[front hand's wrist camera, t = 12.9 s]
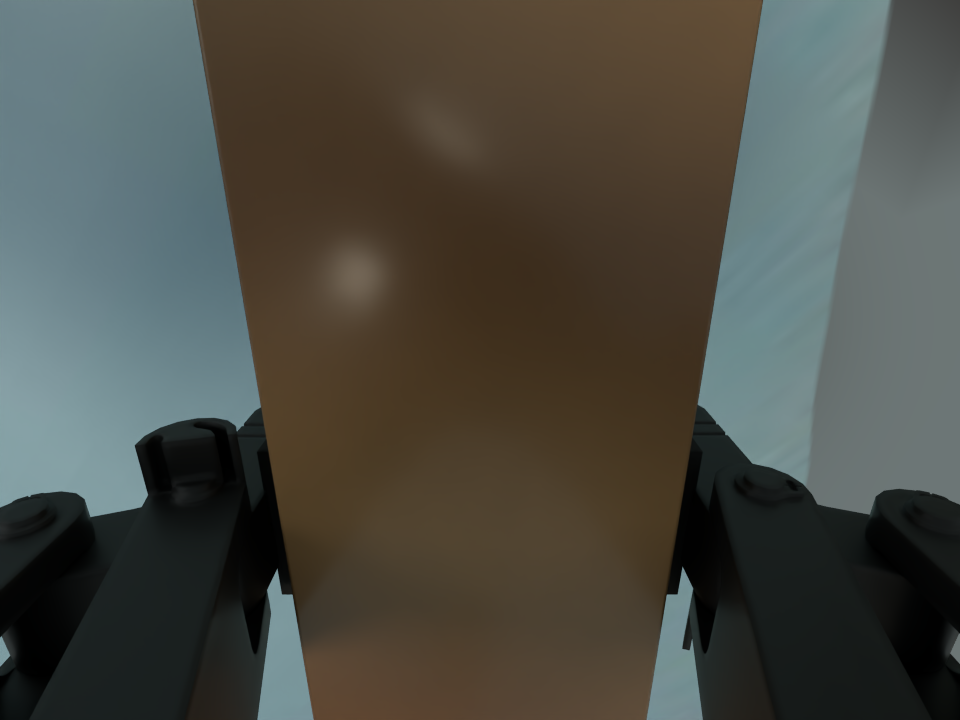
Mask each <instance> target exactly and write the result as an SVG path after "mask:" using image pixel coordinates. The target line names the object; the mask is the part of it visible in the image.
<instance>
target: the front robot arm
mask: <svg viewBox="0 0 960 720" xmlns="http://www.w3.org/2000/svg"><path fill="white" fill-rule="evenodd" d="M135 448H136V452H137V456H138V459H139V463H140V467H141V470H142V474H143V478H144V481H145V485H146V489H147V492H148V496H147V498H146V500H145V502H144V504H143V506H142V507H140V508H136V509H132V510H126V511H121V512H116V513H110V514H105V515H100V516H94V517H90V515H89V512H88V508H87V505H86V502H85V499H83V498H82V497H81V496H79V495H78V494H76V493H69V492H52V493H39V494H35V495H31V497H28V496H26V497H23V498H20V499H17V500H15V501H13V502H12V503H10V504H8V505H5V506H3V507H1V508H0V637H1V636H2V638H3V640H4V642H5V645H6V647H7V649H8V651H9V654H10V657H9V658H8V659H7V660H6V661H5V662H4V663H3V664H2V666H1V667H0V720H257V717H258V710H259V702H260V694H261V687H262V679H263V671H264V664H265V656H266V648H267V640H268V633H269V625H270V617H271V610H270V603H269V598H268V593H267V589H268V587H269V585H270V583H271V580H272V578H273V576H274V574H275V572H276V570H277V568H278V574H279V580H280V585H281V591H282V594H293V593H292V588H291V582H290V576H289V570H288V564H287V558H286V552H285V546H284V540H283V534H282V528H281V522H280V516H279V510H278V504H277V498H276V492H275V486H274V480H273V475H272V469H271V463H270V457H269V451H268V445H267V439H266V433H265V427H264V421H263V415H262V409H261V408H259V409H257V410H256V411H255V412H254V413H253V414H252V415H251V416H250V417H249V419H248V420H247V421H246V422H245V423H244V426H242V427H241V428H240V429H239V430H238V431H236V426H235V425H234V424H232V423H231V422H229V421H228V420H223V419H217V418H197V419H191V420H186V421H180V422H176V423H173V424H170V425H167V426H164V427H161V428H159V429H157V430H155V431H153V432H151V433H150V434H148V435H146V436H144V437H143V438H142V439H141V440H140V441H139V442H138V443H137V444H136V445H135ZM682 566H683V568H684V570H685V572H686V574H687V576H688V578H689V581H690V583H691V585H692V587H693V593H692V598H691V603H690V608H689V614H688V619H687V624H686V629H685V635H684V641H683V647H682V649H686V650H690V646H691V641H692V639H693V647H694V655H695V662H696V670H697V678H698V685H699V693H700V701H701V708H702V716H703V720H960V664H959V663H958V662H957V661H956V659H955V658H954V657H953V656H952V655H951V654H950V652H951V650H952V648H953V645H954V643H955V641H956V639H957V637H958V634H959V633H960V505H959V504H957V503H954V502H952V501H950V500H948V499H947V498H945V497H942V496H939V495H936V494H930V493H929V492H924V491H918V490H917V491H914V490H904V489H894V490H886V491H883V492H882V493H880V494H879V495H877V496H876V498H875V501H874V504H873V507H872V510H871V513H870V515H868V514H863V513H857V512H852V511H847V510H841V509H836V508H831V507H826V506H821V505H817V503H816V501H815V499H814V497H813V495H812V494H811V493H810V492H809V490H808V489H807V488H806V487H805V486H804V485H803V484H802V483H801V482H799V481H797V480H796V479H794V478H793V477H791V476H790V475H788V474H785V473H783V472H780V471H778V470H775V469H773V468H770V467H765V466H760V465H756V464H752V463H751V462H750V460H749V459H748V458H747V457H746V456H745V455H744V454H743V452H742V451H741V450H740V449H739V448H738V447H737V446H736V444H735V443H734V442H733V441H732V440H731V439H730V437H729V436H728V435H725V432H724V431H723V429H722V428H721V427H720V426H719V425H718V424H716V421H715V420H714V419H713V418H712V417H711V416H710V414H709V413H708V412H707V411H706V410H705V409H704V408H702V407H700V406H699V405H697V411H696V417H695V423H694V429H693V435H692V441H691V448H690V454H689V460H688V466H687V472H686V478H685V485H684V491H683V497H682V503H681V509H680V515H679V522H678V528H677V534H676V540H675V546H674V552H673V559H672V565H671V571H670V577H669V583H668V589H667V594H678V589H679V583H680V578H681V572H682Z"/></svg>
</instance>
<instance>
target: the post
mask: <svg viewBox="0 0 960 720" xmlns="http://www.w3.org/2000/svg"><path fill="white" fill-rule="evenodd" d="M762 4H763V0H193V5H194V11H195V17H196V23H197V28H198V34H199V40H200V46H201V52H202V58H203V64H204V70H205V76H206V82H207V88H208V94H209V100H210V106H211V112H212V118H213V124H214V130H215V136H216V141H217V147H218V153H219V159H220V165H221V171H222V177H223V183H224V189H225V195H226V201H227V207H228V213H229V219H230V225H231V231H232V237H233V243H234V249H235V254H236V260H237V266H238V272H239V278H240V284H241V290H242V296H243V302H244V308H245V314H246V320H247V326H248V332H249V338H250V344H251V350H252V356H253V362H254V367H255V373H256V379H257V385H258V391H259V397H260V403H261V409H262V415H263V421H264V427H265V433H266V439H267V445H268V451H269V457H270V463H271V469H272V475H273V480H274V486H275V492H276V498H277V504H278V510H279V516H280V522H281V528H282V534H283V540H284V546H285V552H286V558H287V564H288V570H289V576H290V582H291V588H292V593H293V599H294V605H295V611H296V617H297V623H298V629H299V635H300V641H301V647H302V653H303V659H304V665H305V671H306V677H307V683H308V689H309V695H310V701H311V706H312V712H313V718H314V720H646V719H647V713H648V707H649V700H650V694H651V688H652V682H653V676H654V670H655V663H656V657H657V651H658V645H659V639H660V633H661V626H662V620H663V614H664V608H665V602H666V596H667V589H668V583H669V577H670V571H671V565H672V559H673V552H674V546H675V540H676V534H677V528H678V522H679V515H680V509H681V503H682V497H683V491H684V485H685V478H686V472H687V466H688V460H689V454H690V448H691V441H692V435H693V429H694V423H695V417H696V411H697V404H698V398H699V392H700V386H701V380H702V374H703V367H704V361H705V355H706V349H707V343H708V337H709V330H710V324H711V318H712V312H713V306H714V300H715V293H716V287H717V281H718V275H719V269H720V263H721V256H722V250H723V244H724V238H725V232H726V226H727V219H728V213H729V207H730V201H731V195H732V189H733V182H734V176H735V170H736V164H737V158H738V152H739V145H740V139H741V133H742V127H743V121H744V115H745V108H746V102H747V96H748V90H749V84H750V78H751V71H752V65H753V59H754V53H755V47H756V41H757V34H758V28H759V22H760V16H761V10H762Z"/></svg>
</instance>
